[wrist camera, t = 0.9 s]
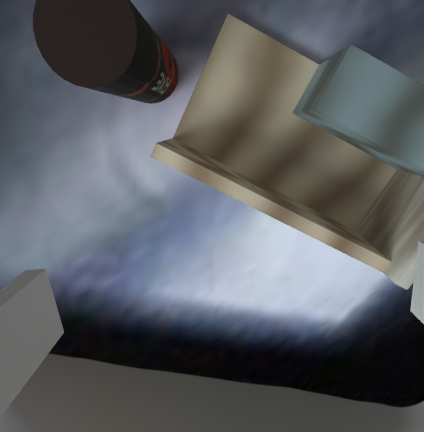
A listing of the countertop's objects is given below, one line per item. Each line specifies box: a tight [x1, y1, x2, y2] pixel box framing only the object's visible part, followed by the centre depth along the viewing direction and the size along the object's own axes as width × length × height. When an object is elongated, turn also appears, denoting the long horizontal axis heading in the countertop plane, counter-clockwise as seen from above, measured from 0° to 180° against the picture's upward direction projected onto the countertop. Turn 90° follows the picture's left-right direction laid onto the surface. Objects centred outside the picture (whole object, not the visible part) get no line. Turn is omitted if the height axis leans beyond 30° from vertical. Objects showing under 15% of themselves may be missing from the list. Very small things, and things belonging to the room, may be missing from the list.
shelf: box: [151, 14, 424, 290], centre depth 27 cm, size 24×14×11 cm, turn 64°
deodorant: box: [33, 0, 178, 103], centre depth 24 cm, size 6×6×15 cm
